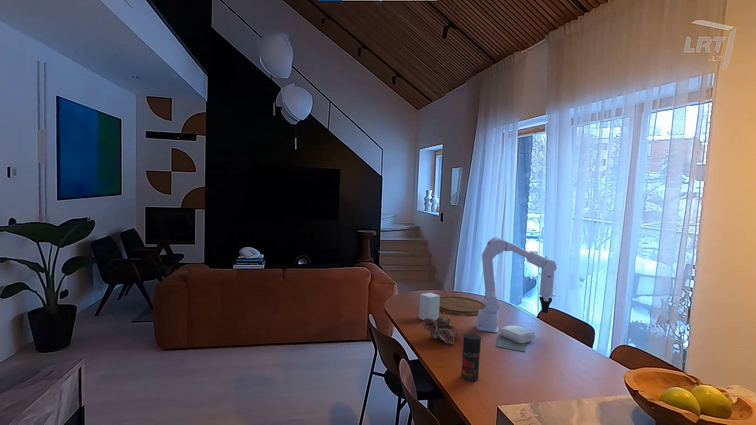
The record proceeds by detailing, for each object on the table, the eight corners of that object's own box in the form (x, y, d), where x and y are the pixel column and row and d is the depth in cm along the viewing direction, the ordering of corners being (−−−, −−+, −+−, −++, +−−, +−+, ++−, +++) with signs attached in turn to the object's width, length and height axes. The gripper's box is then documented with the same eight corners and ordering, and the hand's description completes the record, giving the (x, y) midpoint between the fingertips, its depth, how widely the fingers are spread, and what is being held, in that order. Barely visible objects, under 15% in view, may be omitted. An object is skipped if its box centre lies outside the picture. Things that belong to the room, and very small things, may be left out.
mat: (496, 347, 176) (496, 346, 176) (499, 334, 192) (499, 333, 192) (524, 352, 172) (524, 351, 172) (525, 338, 188) (525, 338, 188)
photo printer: (535, 341, 184) (513, 332, 195) (535, 331, 184) (513, 323, 195) (519, 344, 179) (497, 335, 190) (520, 335, 179) (498, 326, 189)
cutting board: (476, 321, 211) (477, 316, 211) (420, 308, 229) (421, 303, 228) (495, 307, 238) (495, 303, 238) (443, 296, 256) (444, 292, 255)
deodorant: (458, 374, 148) (461, 333, 147) (474, 374, 149) (477, 333, 148) (463, 381, 142) (466, 339, 141) (480, 382, 143) (483, 339, 142)
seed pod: (415, 319, 186) (429, 319, 173) (445, 309, 192) (461, 309, 178) (423, 348, 184) (438, 351, 171) (453, 337, 190) (470, 339, 176)
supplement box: (439, 320, 208) (440, 295, 207) (428, 322, 204) (429, 297, 203) (429, 316, 214) (430, 292, 213) (418, 318, 210) (419, 293, 209)
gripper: (556, 288, 186) (554, 318, 187) (555, 282, 199) (553, 309, 200) (539, 286, 188) (537, 315, 189) (539, 280, 202) (537, 307, 203)
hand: (544, 312), depth 195 cm, fingers closed
